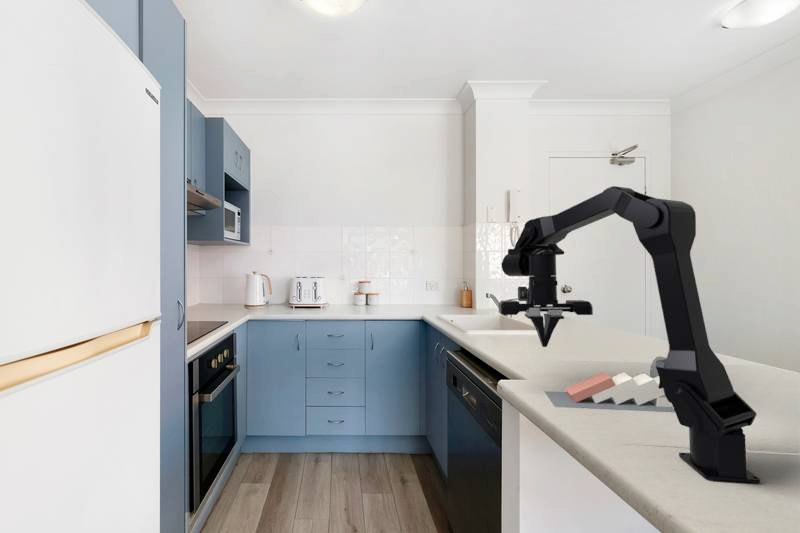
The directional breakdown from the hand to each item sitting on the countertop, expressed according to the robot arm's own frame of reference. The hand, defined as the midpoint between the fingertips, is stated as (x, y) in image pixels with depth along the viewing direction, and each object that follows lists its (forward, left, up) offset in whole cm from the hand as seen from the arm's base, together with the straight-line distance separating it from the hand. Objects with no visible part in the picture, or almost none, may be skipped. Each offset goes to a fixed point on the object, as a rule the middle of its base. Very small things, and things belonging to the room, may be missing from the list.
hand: (544, 346), depth 79 cm
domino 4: (0, -17, -11) cm, 20 cm away
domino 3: (0, -13, -11) cm, 17 cm away
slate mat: (0, -12, -12) cm, 17 cm away
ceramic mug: (+11, -32, -12) cm, 36 cm away
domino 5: (0, -21, -11) cm, 24 cm away
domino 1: (0, -5, -11) cm, 12 cm away
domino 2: (0, -9, -11) cm, 14 cm away
